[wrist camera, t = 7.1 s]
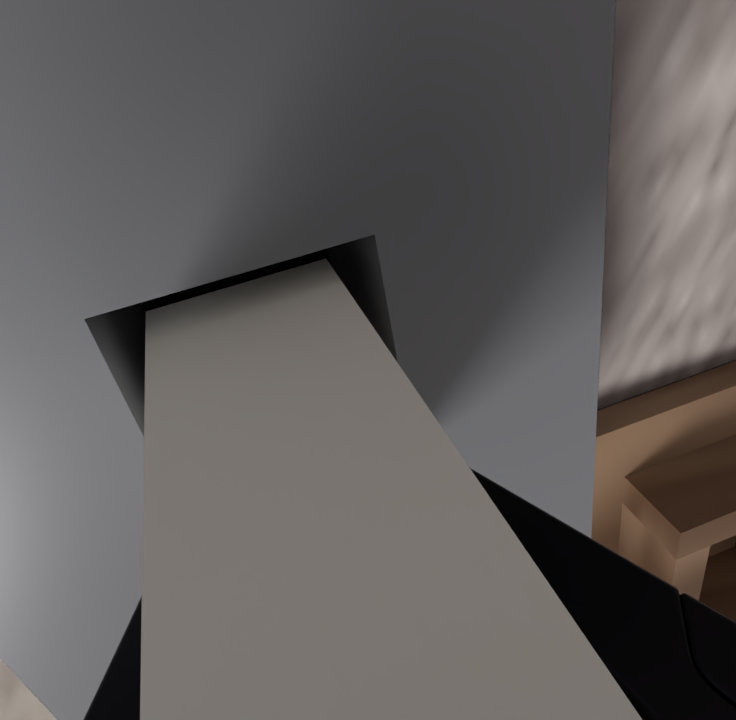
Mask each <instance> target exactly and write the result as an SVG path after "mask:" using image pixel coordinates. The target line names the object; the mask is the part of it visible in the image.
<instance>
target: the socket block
mask: <svg viewBox="0 0 736 720" xmlns="http://www.w3.org/2000/svg"><path fill="white" fill-rule="evenodd" d="M615 6H616V0H0V659H1V660H2V661H3V662H4V663H5V664H6V665H7V666H8V667H9V668H10V669H11V671H12V672H13V673H14V674H15V675H16V676H17V677H18V678H19V679H20V680H21V681H22V682H23V683H24V684H25V686H26V687H27V688H28V689H29V690H30V691H31V692H32V693H33V694H34V695H35V696H36V697H37V698H38V699H39V701H40V702H41V703H42V704H43V705H44V706H45V707H46V708H47V709H48V710H49V711H50V712H51V713H52V714H53V715H54V717H55V718H56V719H57V720H83V719H84V717H85V715H86V713H87V711H88V709H89V706H90V704H91V702H92V700H93V698H94V696H95V694H96V692H97V689H98V687H99V685H100V683H101V681H102V679H103V677H104V674H105V672H106V670H107V668H108V666H109V664H110V662H111V660H112V657H113V655H114V653H115V651H116V649H117V647H118V645H119V643H120V640H121V638H122V636H123V634H124V632H125V630H126V628H127V625H128V623H129V621H130V619H131V617H132V615H133V613H134V611H135V608H136V606H137V604H138V602H139V600H140V598H141V596H142V543H143V473H144V402H145V332H146V313H145V311H144V309H143V307H142V304H141V302H145V301H148V300H152V299H155V298H158V297H162V296H165V295H169V294H172V293H176V292H179V291H183V290H186V289H189V288H193V287H196V286H200V285H203V284H207V283H210V282H213V281H217V280H220V279H224V278H227V277H231V276H234V275H237V274H241V273H244V272H248V271H251V270H255V269H258V268H261V267H265V266H268V265H272V264H275V263H279V262H282V261H285V260H289V259H292V258H296V257H299V256H303V255H306V254H309V253H313V252H316V251H320V250H323V249H328V253H329V257H330V262H331V266H332V268H333V269H334V271H335V272H336V274H337V275H338V277H339V278H340V280H341V281H342V282H343V284H344V285H345V287H346V288H347V290H348V291H349V293H350V294H351V296H352V297H353V298H354V300H355V301H356V303H357V304H358V306H359V307H360V309H361V310H362V312H363V313H364V315H365V316H366V317H367V319H368V320H369V322H370V323H371V325H372V326H373V328H374V329H375V331H376V332H377V333H378V335H379V336H380V338H381V339H382V341H383V342H384V344H385V345H386V347H387V348H388V350H389V351H390V352H391V354H392V355H393V357H394V358H395V360H396V361H397V363H398V364H399V366H400V367H401V368H402V370H403V371H404V373H405V374H406V376H407V377H408V379H409V380H410V382H411V383H412V385H413V386H414V387H415V389H416V390H417V392H418V393H419V395H420V396H421V398H422V399H423V401H424V402H425V404H426V405H427V406H428V408H429V409H430V411H431V412H432V414H433V415H434V417H435V418H436V420H437V421H438V422H439V424H440V425H441V427H442V428H443V430H444V431H445V433H446V434H447V436H448V437H449V439H450V440H451V441H452V443H453V444H454V446H455V447H456V449H457V450H458V452H459V453H460V455H461V456H462V457H463V459H464V460H465V462H466V463H467V465H468V466H469V468H471V469H473V470H475V471H476V472H478V473H480V474H482V475H483V476H485V477H487V478H488V479H490V480H492V481H494V482H495V483H497V484H499V485H500V486H502V487H504V488H506V489H507V490H509V491H511V492H512V493H514V494H516V495H518V496H519V497H521V498H523V499H525V500H526V501H528V502H530V503H531V504H533V505H535V506H537V507H538V508H540V509H542V510H543V511H545V512H547V513H549V514H550V515H552V516H554V517H555V518H557V519H559V520H561V521H562V522H564V523H566V524H567V525H569V526H571V527H573V528H574V529H576V530H578V531H580V532H581V533H583V534H585V535H586V536H588V537H590V538H591V533H592V511H593V489H594V467H595V445H596V423H597V401H598V379H599V357H600V335H601V313H602V291H603V270H604V248H605V226H606V204H607V182H608V160H609V138H610V116H611V94H612V72H613V50H614V28H615Z"/></svg>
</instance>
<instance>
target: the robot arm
mask: <svg viewBox="0 0 736 720" xmlns="http://www.w3.org/2000/svg"><path fill="white" fill-rule="evenodd" d="M470 469H471V468H470ZM471 471H472V472H473V474H474V475H475V476H476V478H477V479H478V481H479V482H480V484H481V485H482V487H483V488H484V490H485V491H486V492H487V494H488V495H489V497H490V498H491V500H492V501H493V503H494V504H495V506H496V507H497V509H498V510H499V511H500V513H501V514H502V516H503V517H504V519H505V520H506V522H507V523H508V525H509V526H510V527H511V529H512V530H513V532H514V533H515V535H516V536H517V538H518V539H519V541H520V542H521V544H522V545H523V546H524V548H525V549H526V551H527V552H528V554H529V555H530V557H531V558H532V560H533V561H534V562H535V564H536V565H537V567H538V568H539V570H540V571H541V573H542V574H543V576H544V577H545V579H546V580H547V581H548V583H549V584H550V586H551V587H552V589H553V590H554V592H555V593H556V595H557V596H558V598H559V599H560V600H561V602H562V603H563V605H564V606H565V608H566V609H567V611H568V612H569V614H570V615H571V616H572V618H573V619H574V621H575V622H576V624H577V625H578V627H579V628H580V630H581V631H582V633H583V634H584V635H585V637H586V638H587V640H588V641H589V643H590V644H591V646H592V647H593V649H594V650H595V651H596V653H597V654H598V656H599V657H600V659H601V660H602V662H603V663H604V665H605V666H606V668H607V669H608V670H609V672H610V673H611V675H612V676H613V678H614V679H615V681H616V682H617V684H618V685H619V686H620V688H621V689H622V691H623V692H624V694H625V695H626V697H627V698H628V700H629V701H630V703H631V704H632V705H633V707H634V708H635V710H636V711H637V713H638V714H639V716H640V717H641V719H642V720H736V621H734V620H732V619H730V618H728V617H727V616H725V615H723V614H721V613H719V612H718V611H716V610H714V609H712V608H711V607H709V606H707V605H705V604H704V603H702V602H700V601H699V600H697V599H695V598H693V597H692V596H690V595H688V594H687V593H682V594H679V590H678V589H677V588H676V587H674V586H672V585H671V584H669V583H667V582H665V581H664V580H662V579H660V578H659V577H657V576H655V575H653V574H652V573H650V572H648V571H647V570H645V569H643V568H641V567H640V566H638V565H636V564H635V563H633V562H631V561H629V560H628V559H626V558H624V557H622V556H621V555H619V554H617V553H616V552H614V551H612V550H610V549H609V548H607V547H605V546H604V545H602V544H600V543H598V542H597V541H595V540H593V539H592V538H590V537H588V536H586V535H585V534H583V533H581V532H580V531H578V530H576V529H574V528H573V527H571V526H569V525H567V524H566V523H564V522H562V521H561V520H559V519H557V518H555V517H554V516H552V515H550V514H549V513H547V512H545V511H543V510H542V509H540V508H538V507H537V506H535V505H533V504H531V503H530V502H528V501H526V500H525V499H523V498H521V497H519V496H518V495H516V494H514V493H512V492H511V491H509V490H507V489H506V488H504V487H502V486H500V485H499V484H497V483H495V482H494V481H492V480H490V479H488V478H487V477H485V476H483V475H482V474H480V473H478V472H476V471H475V470H473V469H471ZM141 613H142V596H141V598H140V600H139V602H138V604H137V606H136V608H135V611H134V613H133V615H132V617H131V619H130V621H129V623H128V625H127V628H126V630H125V632H124V634H123V636H122V638H121V640H120V643H119V645H118V647H117V649H116V651H115V653H114V655H113V657H112V660H111V662H110V664H109V666H108V668H107V670H106V672H105V674H104V677H103V679H102V681H101V683H100V685H99V687H98V689H97V692H96V694H95V696H94V698H93V700H92V702H91V704H90V706H89V709H88V711H87V713H86V715H85V717H84V719H83V720H140V684H141Z"/></svg>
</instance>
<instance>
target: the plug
mask: <svg viewBox="0 0 736 720" xmlns="http://www.w3.org/2000/svg"><path fill="white" fill-rule="evenodd" d="M140 720H642V719H641V717H640V716H639V714H638V713H637V711H636V710H635V708H634V707H633V705H632V704H631V703H630V701H629V700H628V698H627V697H626V695H625V694H624V692H623V691H622V689H621V688H620V686H619V685H618V684H617V682H616V681H615V679H614V678H613V676H612V675H611V673H610V672H609V670H608V669H607V668H606V666H605V665H604V663H603V662H602V660H601V659H600V657H599V656H598V654H597V653H596V651H595V650H594V649H593V647H592V646H591V644H590V643H589V641H588V640H587V638H586V637H585V635H584V634H583V633H582V631H581V630H580V628H579V627H578V625H577V624H576V622H575V621H574V619H573V618H572V616H571V615H570V614H569V612H568V611H567V609H566V608H565V606H564V605H563V603H562V602H561V600H560V599H559V598H558V596H557V595H556V593H555V592H554V590H553V589H552V587H551V586H550V584H549V583H548V581H547V580H546V579H545V577H544V576H543V574H542V573H541V571H540V570H539V568H538V567H537V565H536V564H535V562H534V561H533V560H532V558H531V557H530V555H529V554H528V552H527V551H526V549H525V548H524V546H523V545H522V544H521V542H520V541H519V539H518V538H517V536H516V535H515V533H514V532H513V530H512V529H511V527H510V526H509V525H508V523H507V522H506V520H505V519H504V517H503V516H502V514H501V513H500V511H499V510H498V509H497V507H496V506H495V504H494V503H493V501H492V500H491V498H490V497H489V495H488V494H487V492H486V491H485V490H484V488H483V487H482V485H481V484H480V482H479V481H478V479H477V478H476V476H475V475H474V474H473V472H472V471H471V469H470V468H469V466H468V465H467V463H466V462H465V460H464V459H463V457H462V456H461V455H460V453H459V452H458V450H457V449H456V447H455V446H454V444H453V443H452V441H451V440H450V439H449V437H448V436H447V434H446V433H445V431H444V430H443V428H442V427H441V425H440V424H439V422H438V421H437V420H436V418H435V417H434V415H433V414H432V412H431V411H430V409H429V408H428V406H427V405H426V404H425V402H424V401H423V399H422V398H421V396H420V395H419V393H418V392H417V390H416V389H415V387H414V386H413V385H412V383H411V382H410V380H409V379H408V377H407V376H406V374H405V373H404V371H403V370H402V368H401V367H400V366H399V364H398V363H397V361H396V360H395V358H394V357H393V355H392V354H391V352H390V351H389V350H388V348H387V347H386V345H385V344H384V342H383V341H382V339H381V338H380V336H379V335H378V333H377V332H376V331H375V329H374V328H373V326H372V325H371V323H370V322H369V320H368V319H367V317H366V316H365V315H364V313H363V312H362V310H361V309H360V307H359V306H358V304H357V303H356V301H355V300H354V298H353V297H352V296H351V294H350V293H349V291H348V290H347V288H346V287H345V285H344V284H343V282H342V281H341V280H340V278H339V277H338V275H337V274H336V272H335V271H334V269H333V268H332V266H331V265H330V263H329V262H328V261H327V259H326V258H325V259H322V260H319V261H315V262H312V263H308V264H305V265H302V266H298V267H295V268H292V269H288V270H285V271H281V272H278V273H275V274H271V275H268V276H264V277H261V278H258V279H254V280H251V281H248V282H244V283H241V284H237V285H234V286H231V287H227V288H224V289H220V290H217V291H214V292H210V293H207V294H204V295H200V296H197V297H193V298H190V299H187V300H183V301H180V302H176V303H173V304H170V305H166V306H163V307H160V308H156V309H153V310H149V311H146V332H145V402H144V473H143V543H142V613H141V684H140Z"/></svg>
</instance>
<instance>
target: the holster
mask: <svg viewBox="0 0 736 720" xmlns="http://www.w3.org/2000/svg"><path fill="white" fill-rule="evenodd" d="M591 538H592V539H593V540H595V541H597V542H598V543H600V544H602V545H604V546H605V547H607V548H609V549H610V550H612V551H614V552H616V553H617V554H619V555H621V556H622V557H624V558H626V559H628V560H629V561H631V562H633V563H635V564H636V565H638V566H640V567H641V568H643V569H645V570H647V571H648V572H650V573H652V574H653V575H655V576H657V577H659V578H660V579H662V580H664V581H665V582H667V583H669V584H671V585H672V586H674V587H676V588H677V589H678V590H679V594H682V593H687V594H688V595H690V596H692V597H693V598H695V599H697V600H699V601H700V602H702V603H704V604H705V605H707V606H709V607H711V608H712V609H714V610H716V611H718V612H719V613H721V614H723V615H725V616H727V617H728V618H730V619H732V620H734V621H736V361H733V362H731V363H728V364H725V365H722V366H720V367H717V368H714V369H711V370H708V371H706V372H703V373H700V374H697V375H695V376H692V377H689V378H686V379H684V380H681V381H678V382H675V383H673V384H670V385H667V386H664V387H662V388H659V389H656V390H653V391H651V392H648V393H645V394H642V395H640V396H637V397H634V398H631V399H629V400H626V401H623V402H620V403H618V404H615V405H612V406H609V407H607V408H604V409H601V410H598V411H597V423H596V445H595V467H594V489H593V511H592V533H591Z"/></svg>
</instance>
